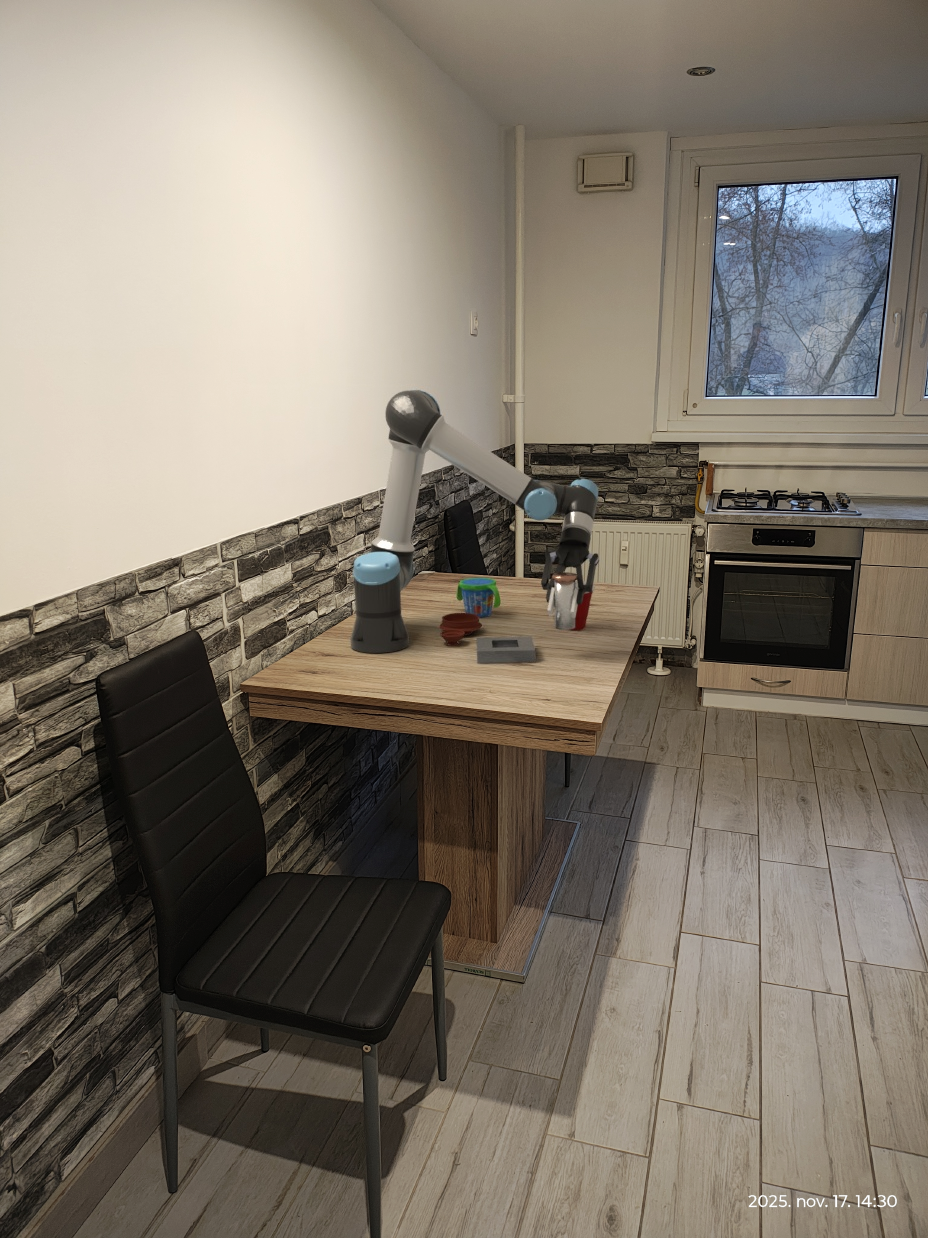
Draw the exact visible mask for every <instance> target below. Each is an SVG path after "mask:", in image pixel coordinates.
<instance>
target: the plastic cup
mask: <svg viewBox="0 0 928 1238" xmlns="http://www.w3.org/2000/svg"><path fill="white" fill-rule="evenodd" d="M583 584H584V585H586V581H583ZM575 589H578V582H577V580H575ZM594 590H596V586H595V584H593V588H592V592H585V593H584V595H583V601H582V604H578V606H577V611H576V617H575V628H574V629H570V630H569V631H582V630H584V629H585V627H586V624H587V620H588V615H589V611H590V605H591V600H592V599H591V598H592V596H593V592H594Z"/></svg>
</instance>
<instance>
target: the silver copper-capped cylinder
mask: <svg viewBox="0 0 928 1238" xmlns="http://www.w3.org/2000/svg"><path fill="white" fill-rule="evenodd" d="M551 578H552V580H554V610H553V613H554V618H553V619H554V629H556V630H559V631H560V630H561V631H571V630H570V629H574V628H575V618H572V615H571V607H572V601H573V596H574V590H575V581H577V573H575V572H566V571H564V572H562V573H555V574H554V573H553V574H552V576H551Z"/></svg>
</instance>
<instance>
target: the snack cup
mask: <svg viewBox="0 0 928 1238" xmlns="http://www.w3.org/2000/svg"><path fill="white" fill-rule="evenodd" d="M499 592H500V591H499V589H498V587H497V581H496V580H495V579H493V578H489V577H471V578H465V579H463V580H460V581H459V583H458V586H457V588H456V599H457V601H463V607H464V613H472V614H476V615H478V616H479V618H486V617H489V616H490V615H492V612H493V608H495V609H497V608H499V607H500V606H501V604H502V603H501V601H502V600H501V596H500V593H499Z"/></svg>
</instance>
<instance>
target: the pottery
mask: <svg viewBox="0 0 928 1238" xmlns="http://www.w3.org/2000/svg"><path fill="white" fill-rule="evenodd" d="M482 627H483V624H482V623H481V622H480V617H479V616H478V615H476V614H472V613H465V612H455V613H454V612H452V613H448V614H444V615H443V616H441V623H440V624H439V628H440V629H441V630H442V631H441V632H440V633H439V634H440V637H441V638H442V639H443V640H444V641H445V642H446V644H447V645H448V646H458V645H459V642H460V641H461V640H462V638H463V637H464V636H468V635H471V634H472V633H473V632H474V631H477V630H479V629H481V628H482Z"/></svg>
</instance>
